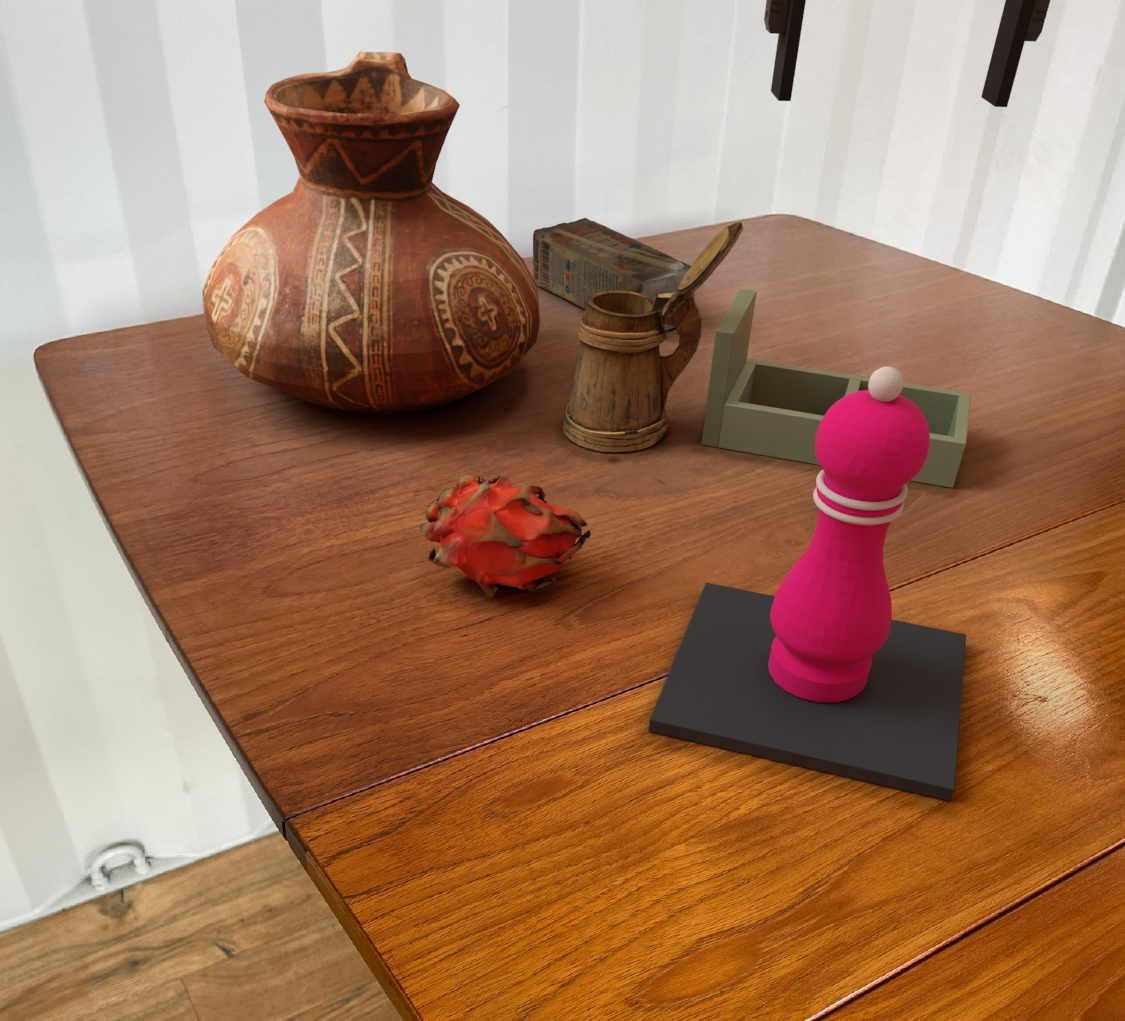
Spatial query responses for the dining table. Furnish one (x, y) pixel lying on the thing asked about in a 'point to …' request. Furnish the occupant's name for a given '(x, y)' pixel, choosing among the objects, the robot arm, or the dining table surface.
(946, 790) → the mat
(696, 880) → the dining table surface
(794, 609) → the pepper mill
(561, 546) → the dragon fruit
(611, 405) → the wooden mug
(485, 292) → the jug
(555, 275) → the beverage carton
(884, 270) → the dining table surface
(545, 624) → the dining table surface
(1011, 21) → the robot arm
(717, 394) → the spice rack
